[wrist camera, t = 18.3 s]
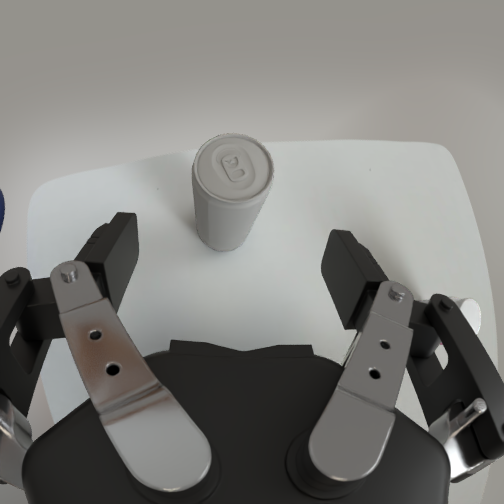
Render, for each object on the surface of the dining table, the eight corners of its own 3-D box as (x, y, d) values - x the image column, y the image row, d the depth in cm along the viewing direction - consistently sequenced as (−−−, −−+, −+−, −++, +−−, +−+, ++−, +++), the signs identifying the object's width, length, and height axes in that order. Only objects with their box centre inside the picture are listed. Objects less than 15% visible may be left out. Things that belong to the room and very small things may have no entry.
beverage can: (235, 196, 28) (253, 122, 17) (257, 240, 28) (291, 186, 16) (189, 215, 27) (178, 147, 16) (210, 261, 27) (211, 219, 15)
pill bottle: (409, 351, 27) (462, 356, 19) (394, 314, 28) (448, 310, 20) (435, 328, 29) (487, 327, 20) (422, 294, 29) (474, 284, 21)
